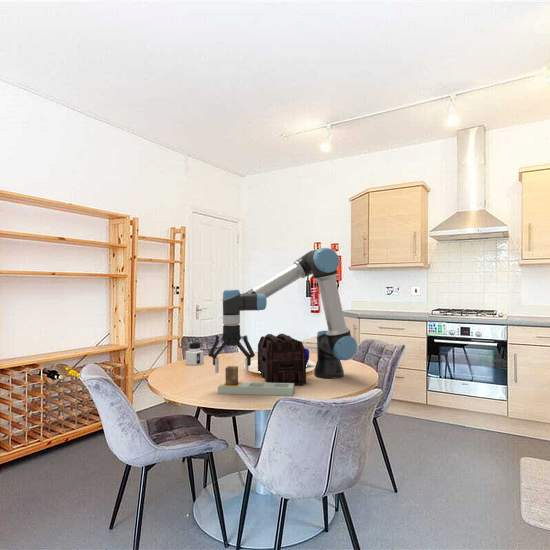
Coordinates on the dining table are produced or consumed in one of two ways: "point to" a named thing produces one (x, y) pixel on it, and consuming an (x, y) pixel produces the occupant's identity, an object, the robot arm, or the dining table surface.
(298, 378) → the crate
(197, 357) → the container
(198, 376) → the dining table surface
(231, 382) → the walnut block
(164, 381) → the dining table surface
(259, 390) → the sorting tray
